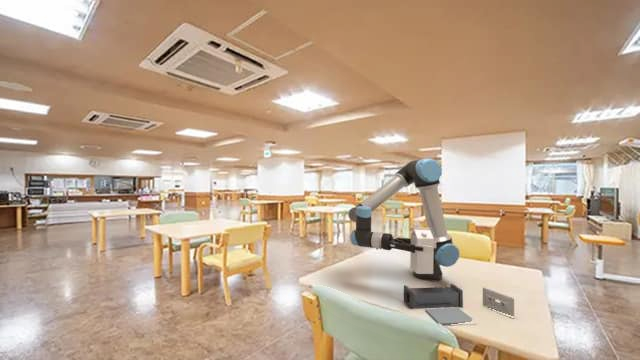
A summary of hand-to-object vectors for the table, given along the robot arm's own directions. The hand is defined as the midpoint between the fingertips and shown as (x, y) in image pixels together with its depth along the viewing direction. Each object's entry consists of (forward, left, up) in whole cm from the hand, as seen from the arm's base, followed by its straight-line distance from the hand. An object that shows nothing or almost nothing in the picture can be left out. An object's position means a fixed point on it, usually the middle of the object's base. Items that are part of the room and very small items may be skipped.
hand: (434, 247), depth 113 cm
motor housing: (+1, 0, -24) cm, 24 cm away
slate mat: (0, +11, -24) cm, 26 cm away
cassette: (-22, +8, -24) cm, 34 cm away
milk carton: (+4, -3, -11) cm, 12 cm away
